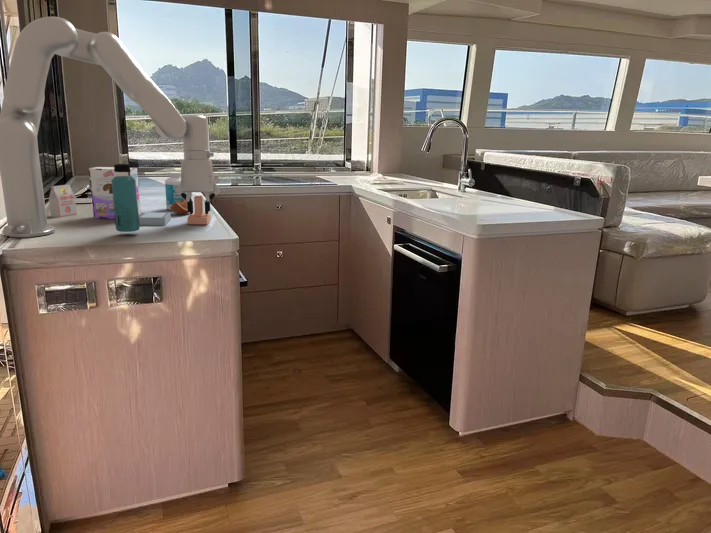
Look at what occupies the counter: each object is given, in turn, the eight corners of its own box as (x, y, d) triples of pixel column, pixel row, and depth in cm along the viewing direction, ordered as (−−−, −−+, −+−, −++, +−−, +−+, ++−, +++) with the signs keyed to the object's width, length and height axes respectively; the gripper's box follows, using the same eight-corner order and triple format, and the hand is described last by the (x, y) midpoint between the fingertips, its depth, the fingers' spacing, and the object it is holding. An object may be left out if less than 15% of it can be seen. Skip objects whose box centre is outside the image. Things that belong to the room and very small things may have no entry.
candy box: (142, 217, 179) (138, 167, 175) (133, 220, 173) (129, 169, 169) (102, 215, 180) (98, 166, 176) (92, 218, 175) (87, 167, 170)
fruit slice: (184, 216, 183) (183, 202, 182) (166, 215, 184) (165, 201, 183) (195, 212, 191) (195, 198, 189) (178, 211, 192) (177, 197, 191)
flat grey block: (165, 225, 168) (164, 217, 167) (128, 225, 166) (127, 217, 165) (170, 219, 176) (170, 212, 175) (135, 219, 175) (135, 212, 174)
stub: (207, 224, 169) (206, 198, 167) (187, 224, 168) (186, 198, 166) (210, 219, 178) (209, 194, 176) (191, 219, 177) (190, 194, 175)
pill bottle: (175, 211, 191) (173, 173, 188) (162, 209, 195) (159, 172, 192) (192, 209, 198) (190, 172, 194) (178, 207, 201) (176, 170, 198)
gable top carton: (51, 216, 176) (47, 186, 173) (68, 213, 182) (65, 184, 179) (59, 217, 174) (55, 186, 172) (76, 214, 180) (73, 184, 178)
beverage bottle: (145, 233, 155) (140, 163, 150) (131, 238, 149) (125, 165, 144) (125, 231, 156) (119, 162, 151) (110, 236, 150) (103, 164, 145)
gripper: (225, 155, 173) (226, 211, 177) (170, 154, 170) (174, 211, 175) (222, 157, 165) (224, 215, 170) (166, 156, 163) (169, 215, 168)
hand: (199, 213), depth 172 cm, fingers open, 4 cm apart
